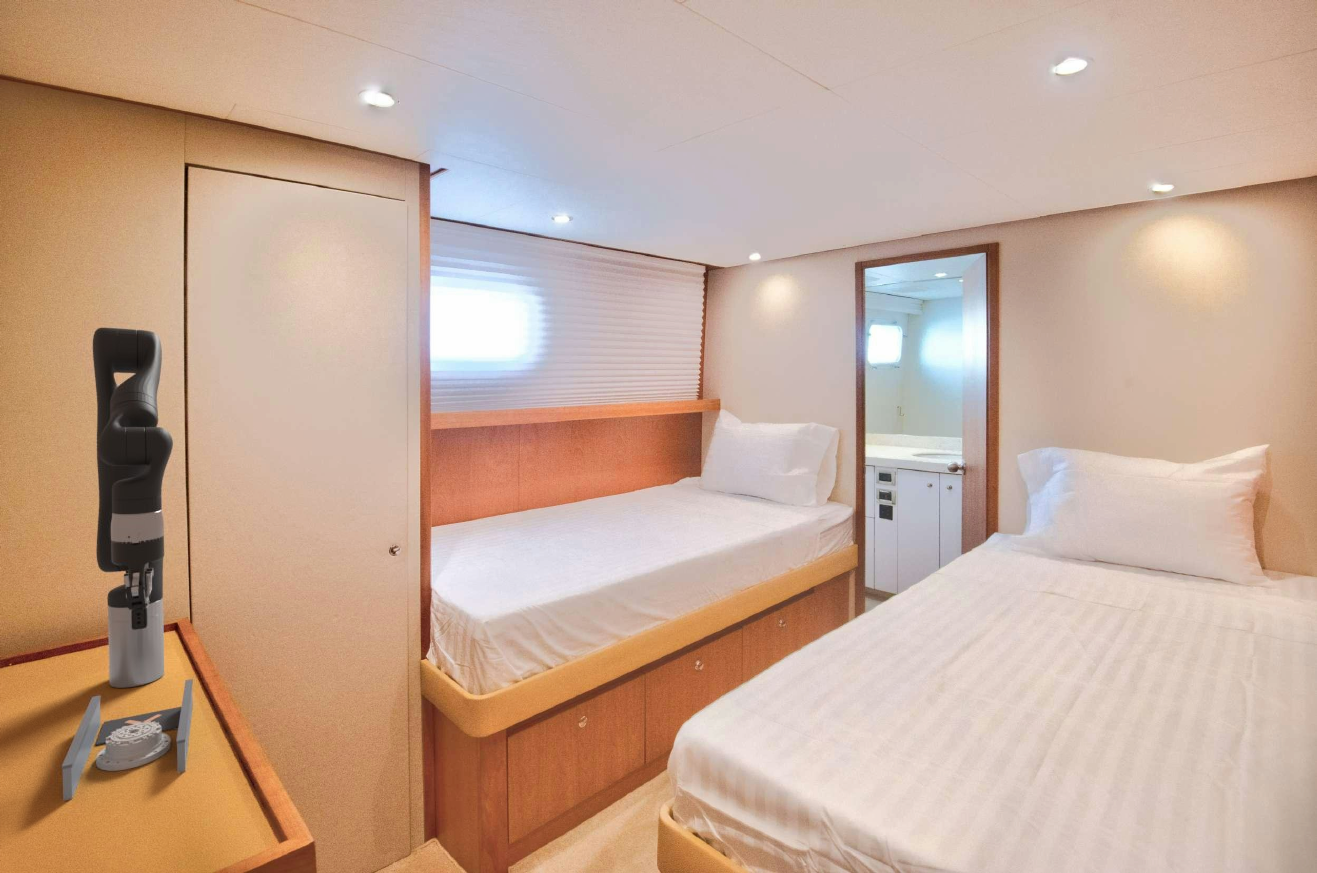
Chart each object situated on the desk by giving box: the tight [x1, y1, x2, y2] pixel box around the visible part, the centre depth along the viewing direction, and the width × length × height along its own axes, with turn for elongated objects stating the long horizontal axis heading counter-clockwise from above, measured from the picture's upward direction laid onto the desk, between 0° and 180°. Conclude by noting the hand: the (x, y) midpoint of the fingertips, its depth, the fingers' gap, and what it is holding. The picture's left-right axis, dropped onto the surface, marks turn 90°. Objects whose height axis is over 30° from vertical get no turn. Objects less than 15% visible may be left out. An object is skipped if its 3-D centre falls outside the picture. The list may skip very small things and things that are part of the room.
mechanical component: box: [95, 721, 172, 772], centre depth 110 cm, size 10×4×10 cm
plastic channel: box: [61, 678, 194, 802], centre depth 112 cm, size 26×15×6 cm, turn 34°
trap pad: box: [95, 706, 182, 747], centre depth 120 cm, size 9×12×1 cm
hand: (139, 627), depth 118 cm, fingers closed
